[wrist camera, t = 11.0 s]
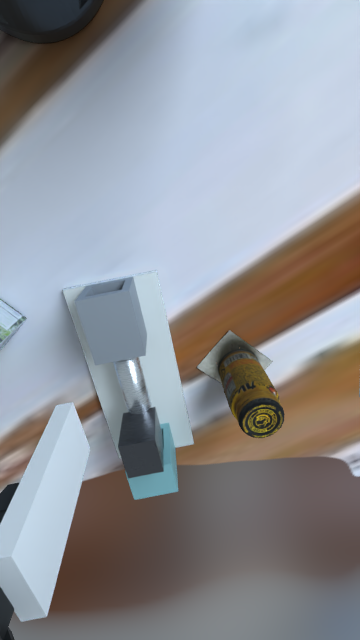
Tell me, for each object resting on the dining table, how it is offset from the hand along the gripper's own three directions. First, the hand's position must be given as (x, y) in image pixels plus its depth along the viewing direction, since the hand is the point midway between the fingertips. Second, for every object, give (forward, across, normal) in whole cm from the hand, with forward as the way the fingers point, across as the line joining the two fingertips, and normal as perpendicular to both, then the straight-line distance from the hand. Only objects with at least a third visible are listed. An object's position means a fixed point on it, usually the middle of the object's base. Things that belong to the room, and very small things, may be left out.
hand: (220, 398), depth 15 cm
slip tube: (+26, -9, -16) cm, 32 cm away
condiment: (+29, +5, -16) cm, 33 cm away
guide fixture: (+29, -9, -14) cm, 33 cm away
